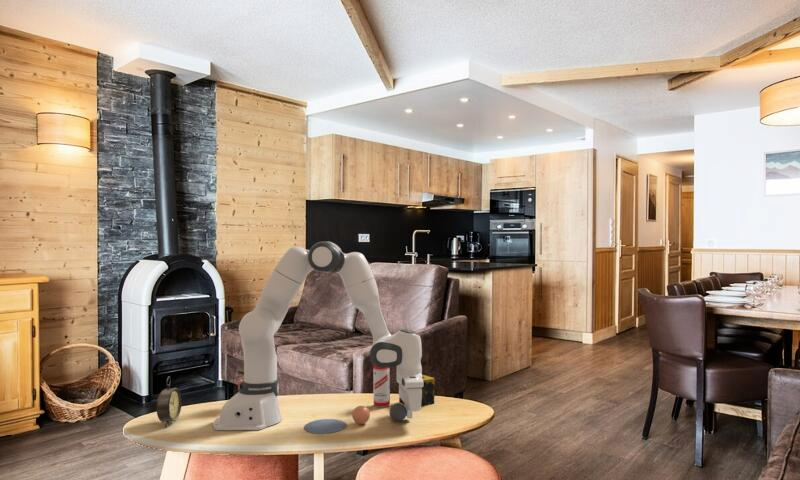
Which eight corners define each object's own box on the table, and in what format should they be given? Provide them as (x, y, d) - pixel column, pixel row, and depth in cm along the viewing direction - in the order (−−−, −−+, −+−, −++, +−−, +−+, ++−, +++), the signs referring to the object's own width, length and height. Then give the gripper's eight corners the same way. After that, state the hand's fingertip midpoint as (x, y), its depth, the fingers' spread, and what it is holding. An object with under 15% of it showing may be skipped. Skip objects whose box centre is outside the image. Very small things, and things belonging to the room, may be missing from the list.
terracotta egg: (353, 427, 164) (353, 409, 165) (351, 421, 170) (351, 404, 170) (371, 426, 165) (370, 408, 166) (368, 420, 171) (368, 402, 172)
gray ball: (393, 426, 167) (389, 409, 167) (390, 420, 173) (386, 404, 173) (410, 421, 168) (406, 404, 168) (406, 415, 174) (402, 399, 174)
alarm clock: (169, 429, 164) (170, 380, 165) (153, 429, 164) (153, 380, 164) (182, 418, 175) (182, 372, 176) (166, 419, 175) (167, 372, 175)
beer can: (389, 408, 185) (389, 365, 186) (372, 408, 185) (372, 365, 186) (390, 403, 191) (389, 361, 192) (374, 403, 192) (373, 362, 192)
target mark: (304, 435, 157) (304, 434, 157) (304, 421, 171) (304, 420, 171) (348, 431, 160) (348, 431, 160) (344, 418, 174) (344, 417, 174)
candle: (398, 402, 193) (398, 376, 193) (418, 398, 199) (418, 373, 199) (414, 408, 185) (414, 381, 185) (435, 403, 191) (434, 377, 191)
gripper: (394, 370, 181) (394, 408, 181) (406, 384, 161) (405, 427, 161) (411, 369, 183) (411, 407, 182) (424, 383, 163) (424, 425, 162)
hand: (408, 416), depth 171 cm, fingers closed
